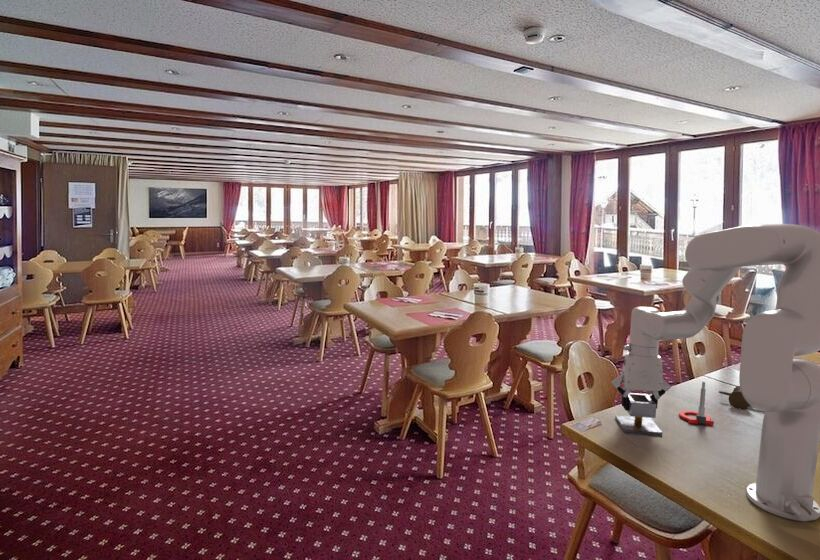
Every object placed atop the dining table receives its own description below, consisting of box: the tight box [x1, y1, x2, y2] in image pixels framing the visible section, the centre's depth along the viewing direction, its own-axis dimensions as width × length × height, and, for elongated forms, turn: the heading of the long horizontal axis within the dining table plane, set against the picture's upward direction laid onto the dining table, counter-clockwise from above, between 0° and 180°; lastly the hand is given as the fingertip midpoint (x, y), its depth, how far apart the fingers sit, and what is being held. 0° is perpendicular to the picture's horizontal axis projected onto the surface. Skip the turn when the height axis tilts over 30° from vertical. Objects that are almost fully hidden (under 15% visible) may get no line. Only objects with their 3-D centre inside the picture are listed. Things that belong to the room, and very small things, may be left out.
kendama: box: [718, 385, 751, 411], centre depth 155 cm, size 6×10×20 cm
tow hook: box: [678, 381, 715, 426], centre depth 145 cm, size 8×13×9 cm
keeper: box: [615, 414, 663, 437], centre depth 140 cm, size 10×10×7 cm
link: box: [627, 392, 658, 419], centre depth 139 cm, size 8×7×4 cm
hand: (638, 409), depth 140 cm, fingers closed on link, 6 cm apart
